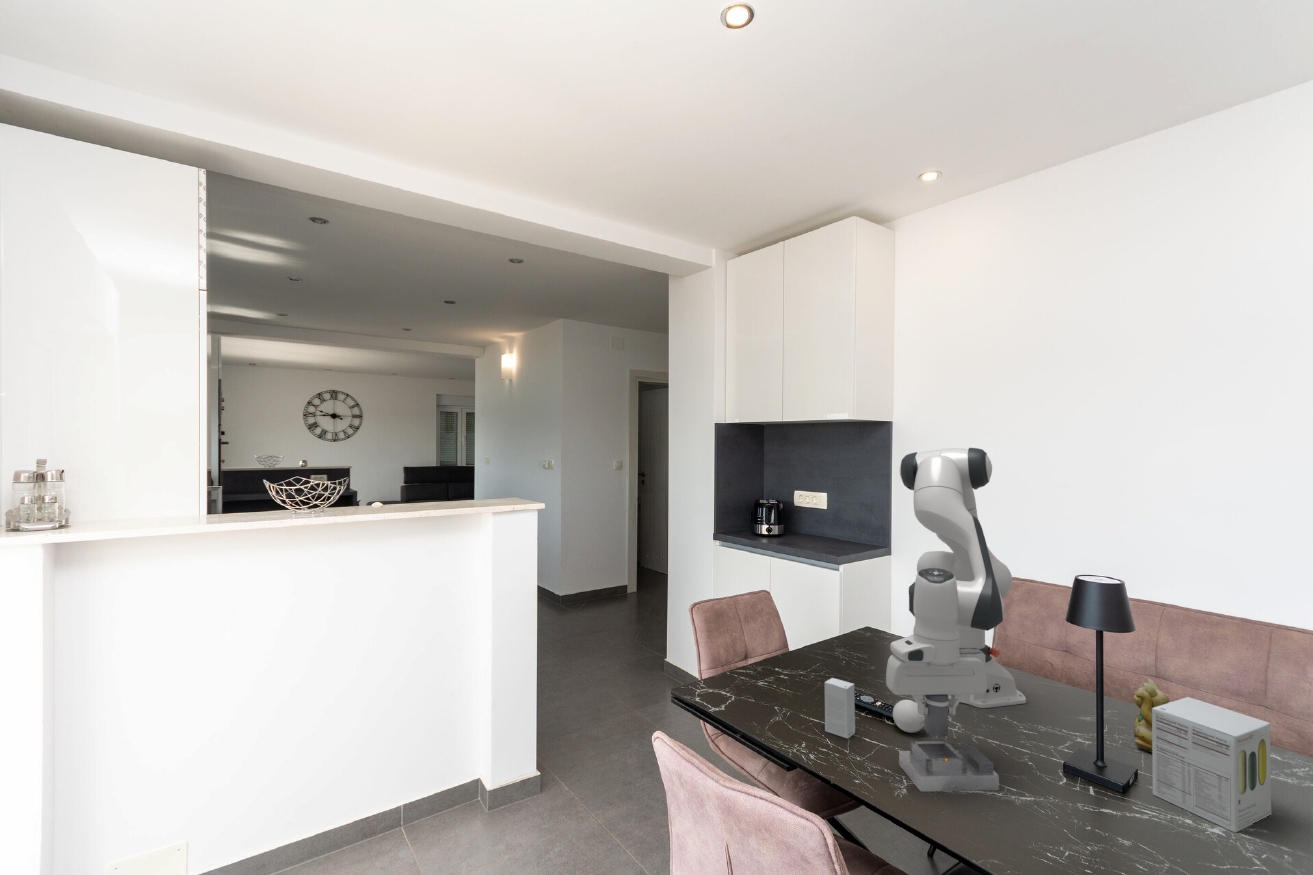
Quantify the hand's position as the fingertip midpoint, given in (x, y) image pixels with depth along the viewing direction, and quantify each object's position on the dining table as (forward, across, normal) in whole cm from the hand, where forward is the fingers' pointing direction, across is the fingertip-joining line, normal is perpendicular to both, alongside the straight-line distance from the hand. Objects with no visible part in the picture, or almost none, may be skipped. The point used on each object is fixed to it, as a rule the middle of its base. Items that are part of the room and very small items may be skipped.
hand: (936, 713), depth 125 cm
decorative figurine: (+13, -56, -10) cm, 59 cm away
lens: (+4, 0, 0) cm, 4 cm away
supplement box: (+13, -48, +11) cm, 51 cm away
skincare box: (+13, +14, -20) cm, 28 cm away
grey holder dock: (+13, -2, 0) cm, 13 cm away
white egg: (+13, -4, -21) cm, 25 cm away
